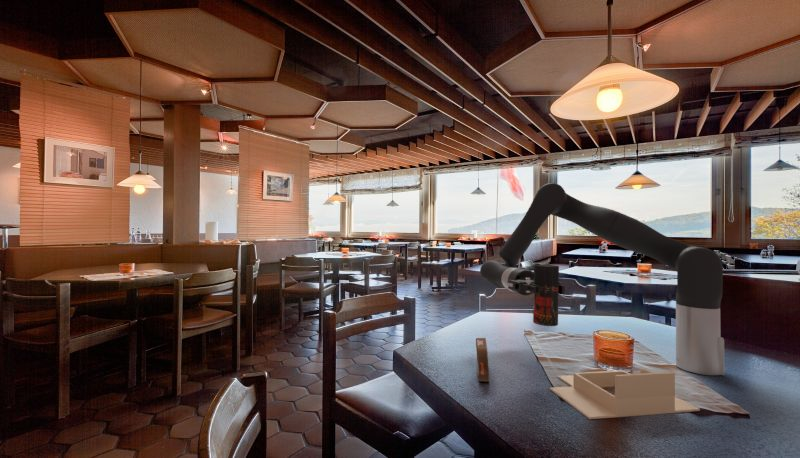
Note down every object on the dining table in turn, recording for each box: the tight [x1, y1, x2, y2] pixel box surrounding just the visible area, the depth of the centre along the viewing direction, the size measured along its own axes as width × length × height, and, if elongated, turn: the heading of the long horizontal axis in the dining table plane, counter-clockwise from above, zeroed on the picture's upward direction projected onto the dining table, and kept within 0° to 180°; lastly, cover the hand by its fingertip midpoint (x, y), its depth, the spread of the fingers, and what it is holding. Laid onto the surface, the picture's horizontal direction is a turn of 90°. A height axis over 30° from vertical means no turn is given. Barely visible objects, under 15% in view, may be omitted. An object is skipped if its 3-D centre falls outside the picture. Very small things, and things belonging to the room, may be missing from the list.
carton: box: [549, 369, 701, 420], centre depth 79 cm, size 19×25×8 cm
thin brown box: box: [475, 337, 490, 383], centre depth 89 cm, size 15×3×8 cm, turn 168°
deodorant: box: [532, 264, 560, 327], centre depth 91 cm, size 6×6×15 cm
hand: (551, 290), depth 88 cm, fingers closed on deodorant, 6 cm apart
